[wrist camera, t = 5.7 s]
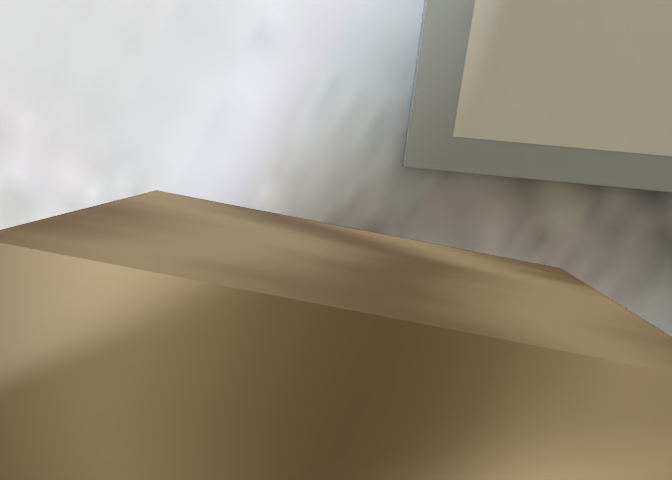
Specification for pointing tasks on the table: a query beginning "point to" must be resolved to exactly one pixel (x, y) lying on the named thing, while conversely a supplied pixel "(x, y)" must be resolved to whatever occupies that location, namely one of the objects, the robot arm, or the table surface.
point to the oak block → (310, 355)
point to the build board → (545, 91)
